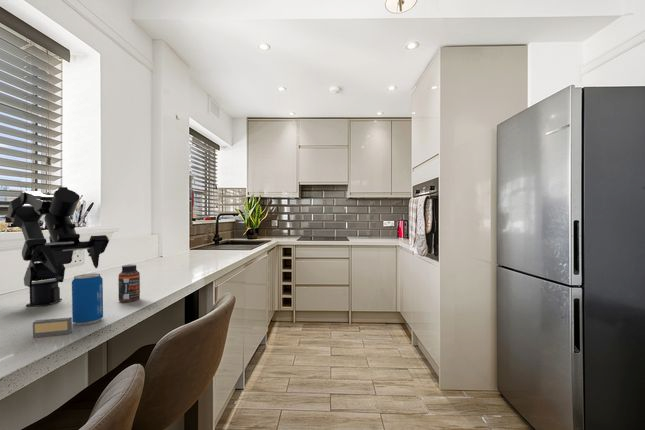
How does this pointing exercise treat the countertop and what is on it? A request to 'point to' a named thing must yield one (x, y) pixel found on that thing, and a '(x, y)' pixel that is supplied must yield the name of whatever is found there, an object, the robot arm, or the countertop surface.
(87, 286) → the beverage can
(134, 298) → the supplement bottle
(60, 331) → the rail
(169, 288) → the countertop surface
